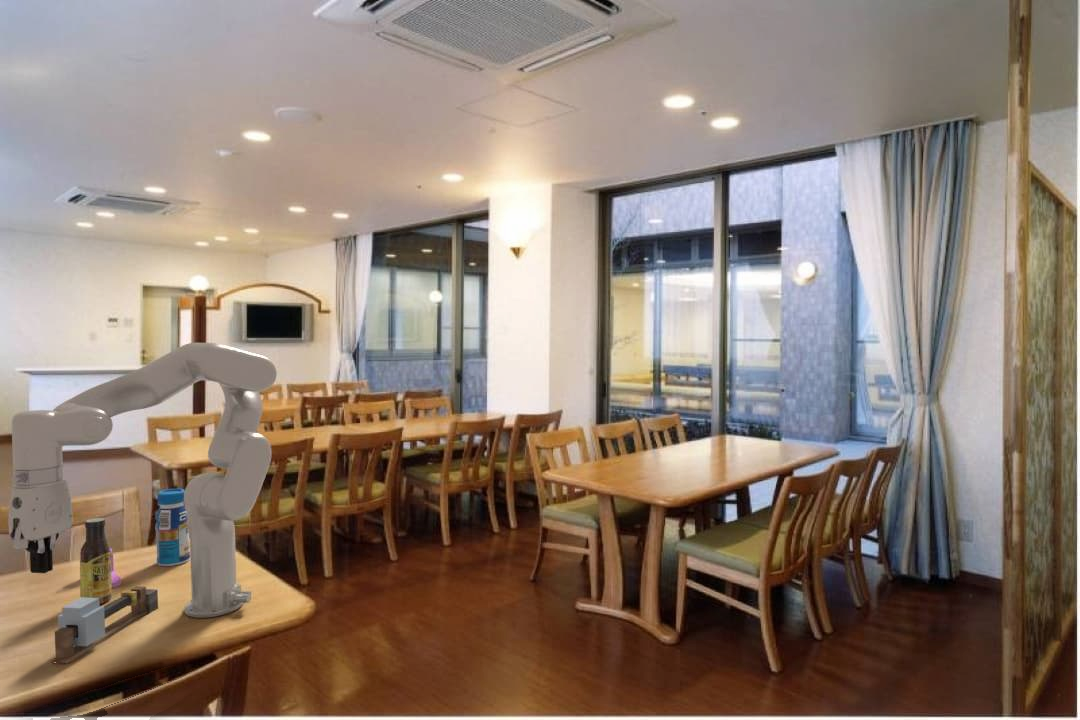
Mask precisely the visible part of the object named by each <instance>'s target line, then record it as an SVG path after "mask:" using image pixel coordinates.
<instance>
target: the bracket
mask: <svg viewBox="0 0 1080 720" xmlns="http://www.w3.org/2000/svg"><path fill="white" fill-rule="evenodd" d="M109 549H110V551H111V589H113V588H116V587H118V586H120V585H121V582H122V581H121V577H120V576H119V575H118V574H117V573H116V572H115V569H114V568H115V567H114V553H113V549H112V548H110V547H109Z"/></svg>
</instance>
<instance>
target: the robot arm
mask: <svg viewBox="0 0 1080 720" xmlns="http://www.w3.org/2000/svg"><path fill="white" fill-rule="evenodd" d="M276 379H277V368H276V366H275V364H274V362H273V361H272V360H271V359H270V358H268V357H266V356H263V355H260V354H257V353H252V352H249V351H245V350H242V349H238V348H235V347H231V346H228V345H224V344H222V343H221V344H220V343H214V342H189V343H186V344H184V345H183V344H182V345H181V346H179V347H177V348H175V349H173V350H172V351H170V352H168V353H166V354H163V356H160V357H159V358H157V359H154V360H153V361H152V362H149V363H147V364H146V365H144V366H141V367H139V368H138V369H136V370H134V371H132V372H128V373H126V374H123V375H120V376H118V377H116V378H114V379H112V380H109V381H107V382H106V381H105V382H104V383H100V384H98V385H96V386H95V385H94V386H93V387H91V388H89V389H86V390H85V391H83V392H79V394H77V395H75V396H73V397H71V398H69V399H68V400H66V401H64V402H62V403H60V404H59V405H58V406H56V407H55V408H54V409H51V410H50V409H39V410H38V409H36V410H26V411H22V412H21V411H20V412H18V413H16V414H14V415H13V416H12V419H11V438H12V439H11V440H12V441H11V443H12V468H13V470H12V471H13V476H12V477H11V478H10V481H11V482H12V483H13V487H12V488H11V492H10V496H9V497H10V498H9V504H8V505H9V506H8V520H7V521H8V533H9V538H10V539H11V540H12V541H13V543H12V548H13V550H14V549H16V550H18V549H19V550H22V549H23V550H24V549H25V552H26V553H27V554H29V564H30V567H29V568H30V573H33V574H47V573H48V572H51V571H53V568H54V565H53V562H54V561H53V550H54V549H55V548H56V542H57V539H58V538H59V537H61V536H62V535H63V534H65V533H66V531H67V530H69V529H70V527H72V525H73V522H74V521H73V517H74V516H73V504H72V497H71V492H70V488H69V485H68V481H67V479H66V478H64V469H63V468H64V467H63V466H64V463H63V461H64V460H63V447H65V446H66V447H68V446H71V447H73V446H91V445H92V446H93V445H96V444H100V443H101V442H103V441H104V440H106V439H108V437H109V436H110V434H111V433H112V430H113V425H114V424H113V420H112V417H116V416H118V415H120V414H124V413H127V412H133V411H136V410H145V409H149V408H152V407H156V406H158V405H160V404H162V403H164V402H166V401H167V400H169V399H171V398H172V397H174V396H175V395H177V394H180V392H182V391H184V390H185V389H187V388H189V387H190V386H193V385H194V384H196V383H198V382H200V381H208V382H214V383H218V384H219V386H220V389H221V390H222V392H223V396H224V400H225V402H224V409H223V412H222V415H221V418H220V420H219V422H218V425H217V428H216V430H215V432H214V434H213V437H212V439H211V442H210V444H209V446H208V447H209V448H208V450H207V457H208V460H209V462H210V463H211V464H212V465H213V466H215V467H216V468H219V469H222V470H226V473H225V474H220V473H216V472H215V473H214V472H206V473H205V472H204V473H201V474H198V475H196V476H195V477H193V478H192V479H190V481H189V483H188V484H187V485H186V486H185V489H184V490H185V493H184V503H183V504H184V505H185V509H186V513H187V518H188V523H189V549H190V559H189V561H190V585H191V586H190V587H191V599H190V600H189V601H187V603H185V606H184V614H185V615H187V616H188V617H192V618H197V619H199V618H200V619H204V618H206V619H208V618H214V617H220V616H223V615H226V614H227V615H228V614H229V613H232V612H234V611H237V610H238V609H239V608H241V607H242V606H243V605H244V604H249V603H250V602H251V600H252V591H251V590H242V585H241V583H237V567H236V565H237V564H236V563H237V562H236V560H237V559H236V531H235V530H236V529H235V522H234V521H240V520H241V519H243V518H245V517H246V516H248V514H249V513H250V512H251V511H252V509H253V507H254V505H255V504H256V502H257V500H258V496H259V494H260V492H261V489H262V487H263V483H264V481H265V478H266V475H267V473H268V471H269V468H270V465H271V461H272V454H273V453H272V452H273V451H272V446H271V444H270V441H269V440H268V438H267V437H265V436H264V435H263V434H260V433H259V432H258V433H257V431H258V428H259V424H260V422H261V418H262V415H263V401H262V398H261V397H262V396H261V394H260V392H264V391H267V390H268V389H270V388H271V387H272V386H273V385H274V383H275V382H276Z"/></svg>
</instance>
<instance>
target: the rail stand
mask: <svg viewBox="0 0 1080 720" xmlns="http://www.w3.org/2000/svg"><path fill="white" fill-rule="evenodd" d="M146 587H147V586H140V585H137V586H134V587H132V588H131V589H130V590H123V591H121V592H120V597H118V598H116V599H114V600H112V601H110V602H109V603H107V604H105V605H103V607H104V617H105V620H106V619H107V618H110V617H111V616H113V615H114V614H116V613H118V612H119V611H121V610H123V609H125V608H126V607H130V610H131V611H130V612H128V613H127V614H125V615H124V616H122V617H120V618H119V619H117V620H115V621H114V622H112V623H110V624H109V625H107V626H105V635H104V636H103V637H101V638H99V639H98V640H96V641H95V642H93V643H91V644H90V645H88V646H74V637H75V636H77V635H78V625H70V626H68V627H66V628H60V629H59V630H58V629H57V630H54V646H55V650H54V651H55V652H54V653H55V657H54V658H53V659H52V663H53V662H56V663H66V664H65V665H68V664H70V663H71V662H73V661H74V660H76V659H78V658H79V657H81V656H82V655H83V654H85V653H87V652H89V651H90V650H92V649H93V648H95V647H96V646H98V645H100V644H101V643H103V642H104V641H106V640H107V639H109V638H110V637H112V636H114V635H116V634H118V632H120V631H122V630H124V629H125V628H127V627H128V626H130V625H131V624H132V623H135V622H137V620H139V619H141V618H142V617H144V616H145V615H148V614H151V613H152V612H155V611H157V609H159V598H158V597H159V596H158V592H159V591H158V589H152V588H151V589H149V588H146ZM69 662H70V663H69ZM67 663H68V664H67Z"/></svg>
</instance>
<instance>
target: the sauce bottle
mask: <svg viewBox="0 0 1080 720" xmlns="http://www.w3.org/2000/svg"><path fill="white" fill-rule="evenodd" d="M84 526H85V534H86V535H85V541H84V543H83V544H82V547H81V548H80V558H79V559H80V561H79V578H80V579H79V586H80V588H79V589H80V591H79V593H80V596H79V598H81V597H86V598H99V604H100V605H102V604H105V603H107V602H108V601H110V600H111V598H112V588H111V551H110V547H109V544H108V542H107V539H106V534H105V533H106V532H105V527H106V518H104V517H97V518H96V517H94V518H91V519H87V520H85V521H84Z"/></svg>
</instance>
